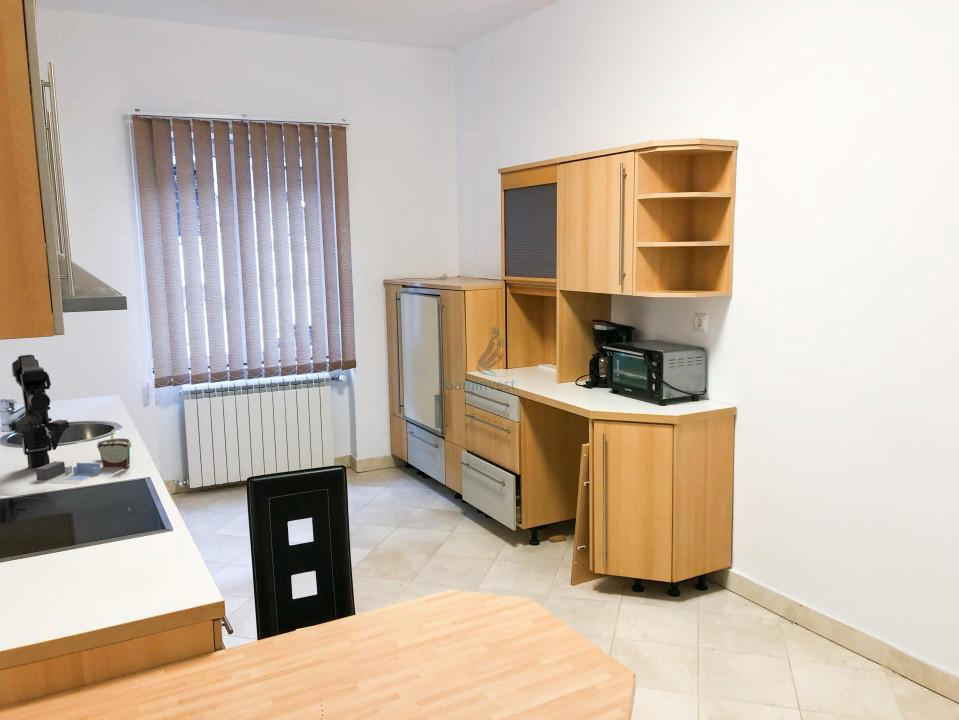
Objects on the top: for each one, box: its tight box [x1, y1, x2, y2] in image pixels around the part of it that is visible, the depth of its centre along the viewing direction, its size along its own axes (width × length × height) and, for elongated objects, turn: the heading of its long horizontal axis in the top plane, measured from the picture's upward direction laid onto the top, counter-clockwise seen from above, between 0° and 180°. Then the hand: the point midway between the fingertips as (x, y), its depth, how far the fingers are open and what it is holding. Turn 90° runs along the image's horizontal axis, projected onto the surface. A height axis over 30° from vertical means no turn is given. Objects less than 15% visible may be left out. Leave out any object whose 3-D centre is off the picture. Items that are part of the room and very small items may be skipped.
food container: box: [96, 437, 132, 470], centre depth 284 cm, size 12×6×10 cm, turn 84°
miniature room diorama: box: [26, 462, 102, 485], centre depth 270 cm, size 20×13×4 cm, turn 79°
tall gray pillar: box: [35, 461, 66, 480], centre depth 271 cm, size 4×9×4 cm, turn 169°
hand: (42, 449), depth 268 cm, fingers open, 9 cm apart
